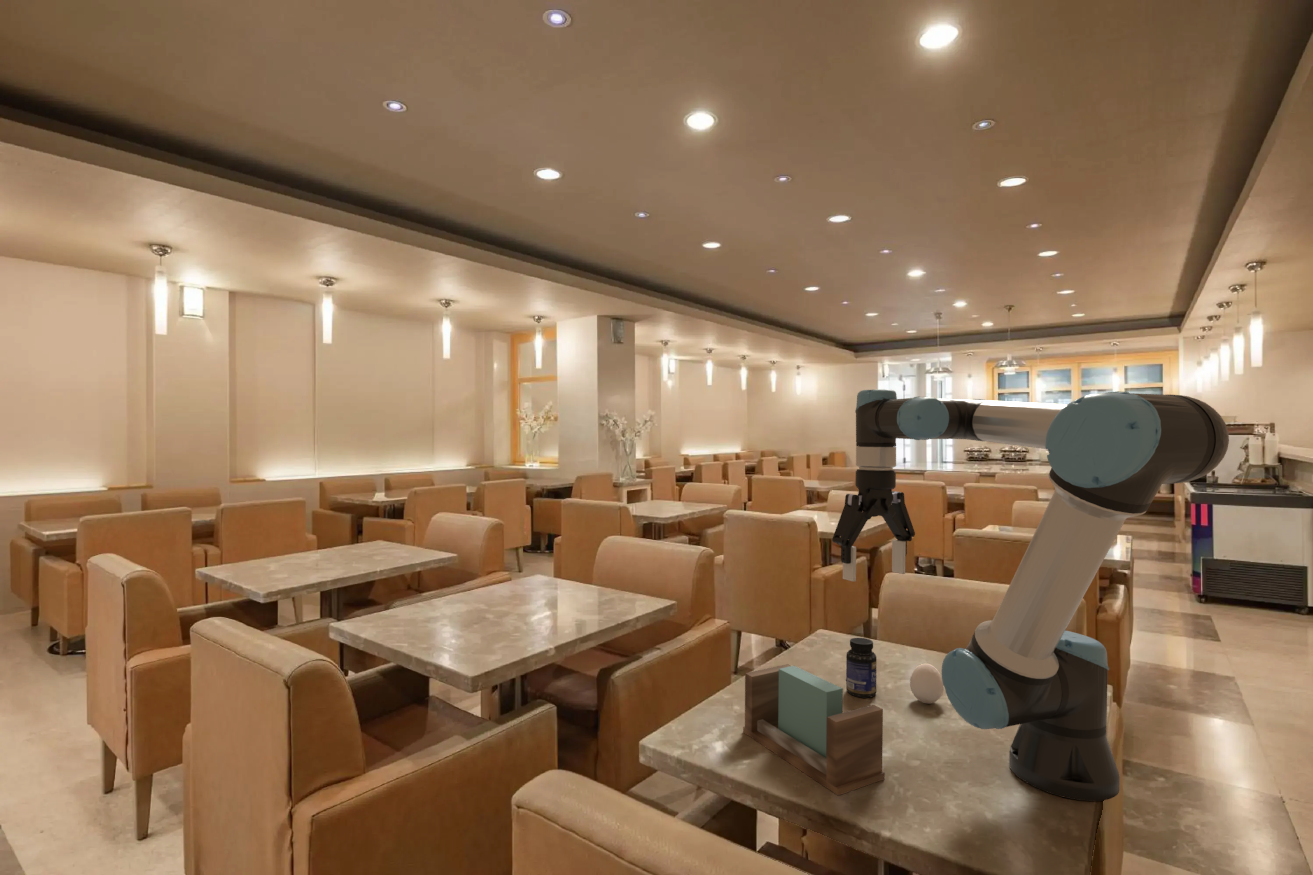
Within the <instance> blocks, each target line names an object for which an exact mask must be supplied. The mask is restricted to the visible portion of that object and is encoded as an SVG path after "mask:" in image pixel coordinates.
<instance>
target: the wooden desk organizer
mask: <svg viewBox="0 0 1313 875" xmlns="http://www.w3.org/2000/svg"><path fill="white" fill-rule="evenodd" d="M789 666H792V665H791V664H788V663H787V664H783V665H777V666H773V667H768V668H763V669H759V670H758V669H757V670H755V671H750V672H745V674H744V676H745V677H744V726H742V732H743V733H744V734H745V735H747V736H748V737H750V738H751V739H753V740H754V741H756V742H757V743H758V744H760V745H762V746H763V747H765V748H766V749H768V750H769V751H771V752H772V753H774V754H775V755H776V756H778V757H780V758H781V759H783V760H784V761H785V762H787V763H788V764H790V765H792V766H793V767H795V768H797V769H798V770H799V771H801V772H802V773H804V774H805V775H806V776H808V777H810V778H811V779H813V780H814V781H816V782H817V783H818V784H820V785H822V786H823V787H825V788H826V789H828V790H829V791H831V792H832V793H834V795H836V796H841V795H843V794H846V793H850V792H852V791H855V790H857V789H860V788H864V787H866V786H868V785H872V784H876V783H877V782H880V781H883V780H885V776H886V774H885V772H884V771H883V746H884V745H883V741H884V740H883V736H884V735H883V734H884V733H883V728H884V723H883V722H884V721H883V720H884V710H883V708H881V707H880V706H878V705H875V704H870V705H866V706H862V707H859V708H856V709H852V710H849V711H845V712H842V713H840V714H837V715H833V716H829V717H827V759H826V758H825V757H823V756H822V755H820V754H818V753H817V752H815V751H813V750H812V749H810V748H809V747H807V746H805V745H804V744H802V743H800V742H799V741H797V740H795V739H794V738H792V737H791V736H789V735H787V734H786V733H784V732H782V731H781V730H779V729H778V703H779V669H780V668H785V667H789Z"/></svg>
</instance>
